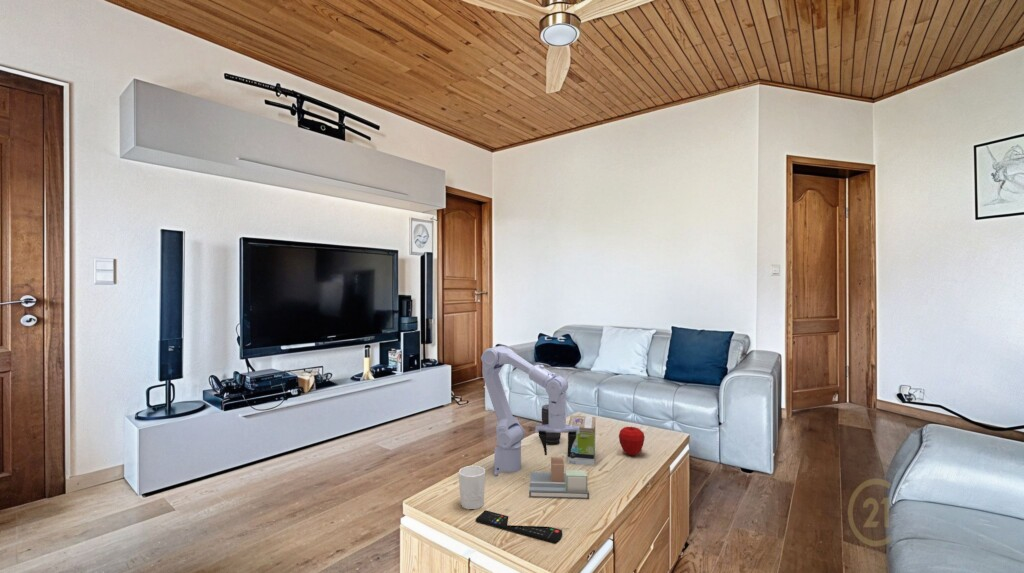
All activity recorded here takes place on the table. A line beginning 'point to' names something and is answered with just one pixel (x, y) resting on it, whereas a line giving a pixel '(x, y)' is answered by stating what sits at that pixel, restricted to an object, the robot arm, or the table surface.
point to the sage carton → (575, 480)
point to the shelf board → (551, 488)
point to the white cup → (472, 486)
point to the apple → (631, 440)
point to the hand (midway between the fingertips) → (557, 454)
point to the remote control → (520, 527)
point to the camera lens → (551, 437)
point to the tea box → (583, 441)
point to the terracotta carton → (557, 469)
